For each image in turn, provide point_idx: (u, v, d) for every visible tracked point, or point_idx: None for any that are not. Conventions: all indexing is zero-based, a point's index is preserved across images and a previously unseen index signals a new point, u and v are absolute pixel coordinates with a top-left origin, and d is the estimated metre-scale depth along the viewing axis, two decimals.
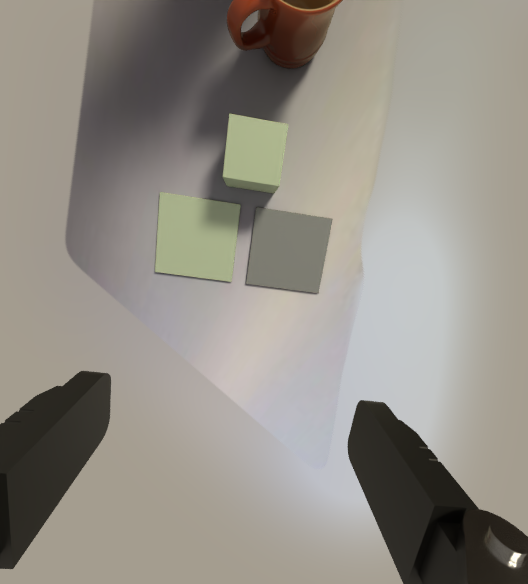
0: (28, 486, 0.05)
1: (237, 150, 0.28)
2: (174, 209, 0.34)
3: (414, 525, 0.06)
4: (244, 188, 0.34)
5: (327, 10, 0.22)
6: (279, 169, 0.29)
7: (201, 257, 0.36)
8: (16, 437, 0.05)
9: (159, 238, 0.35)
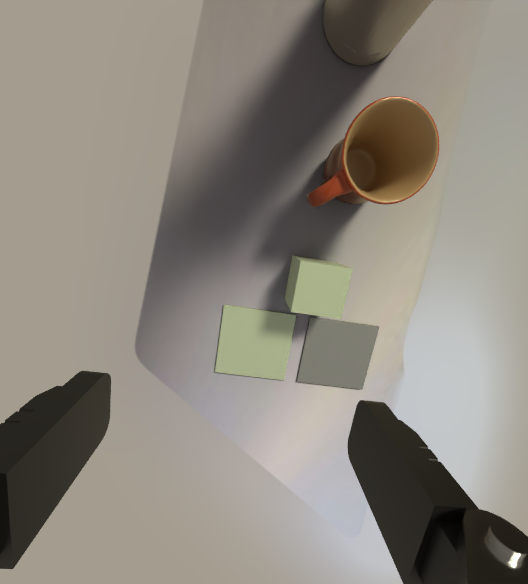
0: (28, 486, 0.05)
1: (305, 290, 0.31)
2: (235, 319, 0.37)
3: (414, 525, 0.06)
4: None
5: (402, 200, 0.25)
6: (342, 305, 0.32)
7: (257, 359, 0.39)
8: (16, 437, 0.05)
9: (220, 344, 0.38)
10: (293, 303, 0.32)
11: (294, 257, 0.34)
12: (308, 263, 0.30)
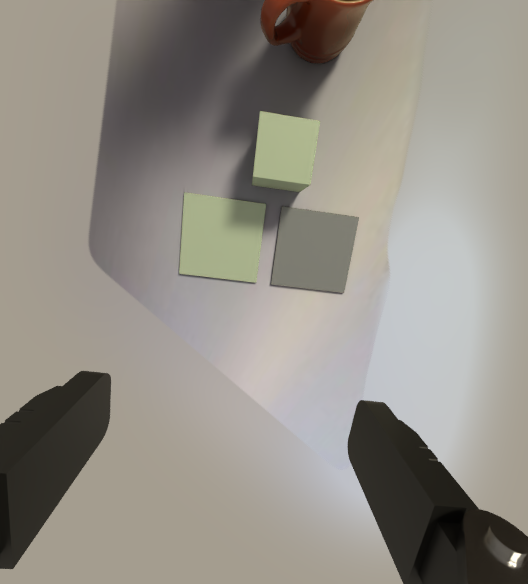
0: (28, 486, 0.05)
1: (267, 148, 0.27)
2: (198, 209, 0.34)
3: (414, 525, 0.06)
4: (270, 187, 0.34)
5: (367, 2, 0.22)
6: (310, 167, 0.28)
7: (225, 258, 0.35)
8: (16, 437, 0.05)
9: (183, 239, 0.34)
10: (255, 165, 0.28)
11: None
12: (269, 114, 0.27)
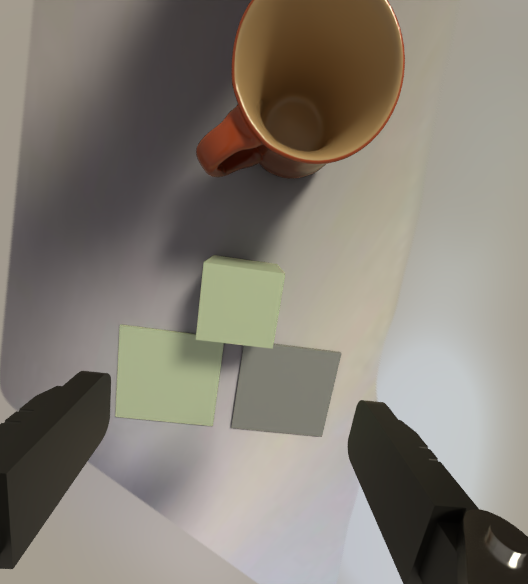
0: (28, 486, 0.05)
1: (215, 307, 0.21)
2: (138, 345, 0.27)
3: (414, 525, 0.06)
4: None
5: (345, 157, 0.15)
6: (273, 328, 0.21)
7: (173, 399, 0.28)
8: (16, 437, 0.05)
9: (120, 379, 0.27)
10: (198, 326, 0.21)
11: (211, 257, 0.24)
12: (216, 266, 0.20)
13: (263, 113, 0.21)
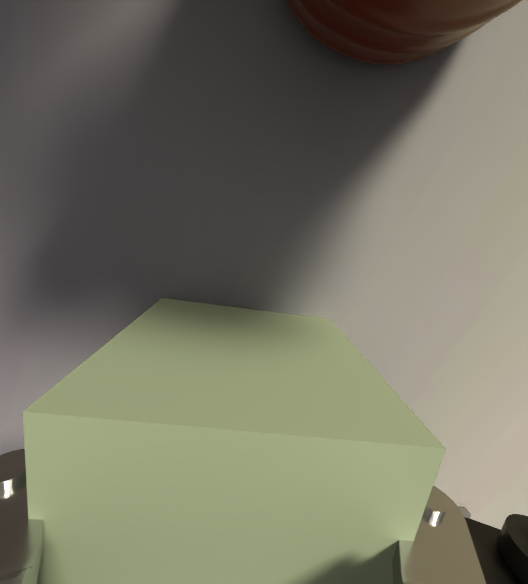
0: None
1: None
2: None
3: None
4: None
5: None
6: None
7: None
8: None
9: None
10: None
11: None
12: (93, 428, 0.04)
13: None
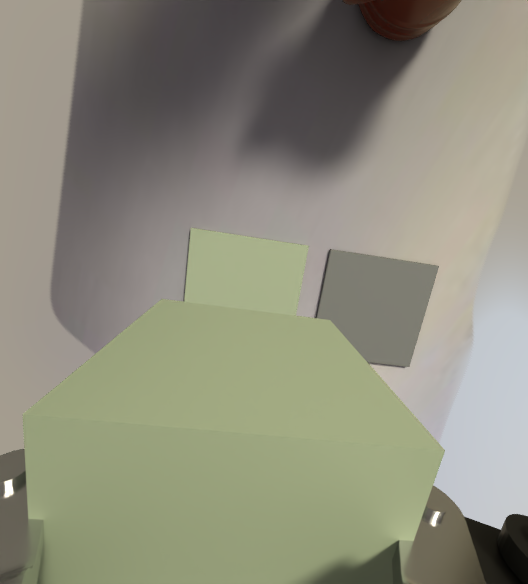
0: None
1: None
2: (210, 252, 0.23)
3: None
4: None
5: None
6: None
7: None
8: None
9: (188, 294, 0.24)
10: None
11: None
12: (93, 431, 0.04)
13: None
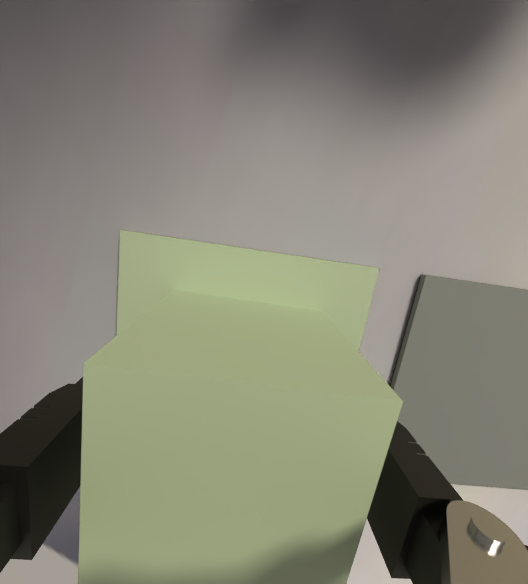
0: (46, 480, 0.05)
1: (139, 513, 0.06)
2: (167, 284, 0.11)
3: (400, 516, 0.06)
4: None
5: None
6: (341, 565, 0.06)
7: None
8: (34, 432, 0.06)
9: None
10: (84, 569, 0.06)
11: None
12: (135, 378, 0.05)
13: None
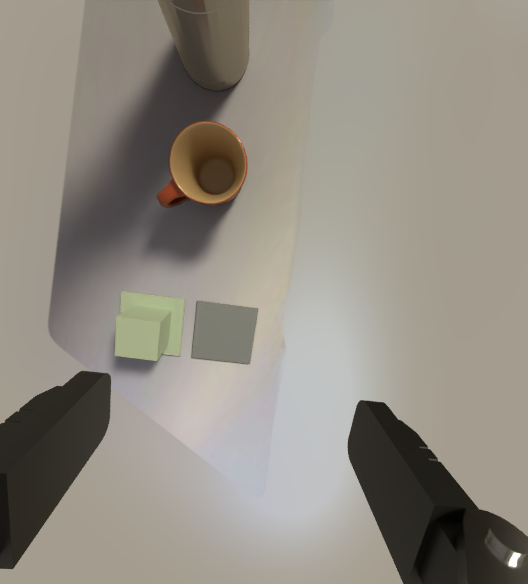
0: (28, 486, 0.05)
1: (124, 339, 0.39)
2: (132, 303, 0.44)
3: (414, 525, 0.06)
4: None
5: (224, 201, 0.32)
6: (156, 350, 0.40)
7: None
8: (16, 437, 0.05)
9: None
10: (115, 349, 0.39)
11: (129, 308, 0.42)
12: (123, 318, 0.38)
13: (199, 169, 0.39)
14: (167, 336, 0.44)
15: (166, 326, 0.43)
